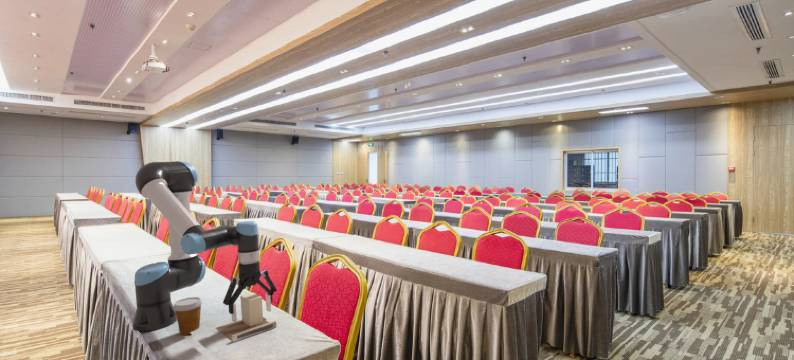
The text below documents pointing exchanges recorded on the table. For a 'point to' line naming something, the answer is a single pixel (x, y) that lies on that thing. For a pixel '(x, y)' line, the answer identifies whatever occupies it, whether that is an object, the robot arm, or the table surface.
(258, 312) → the carton
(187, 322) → the disposable coffee cup
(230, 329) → the shelf board
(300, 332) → the table surface
